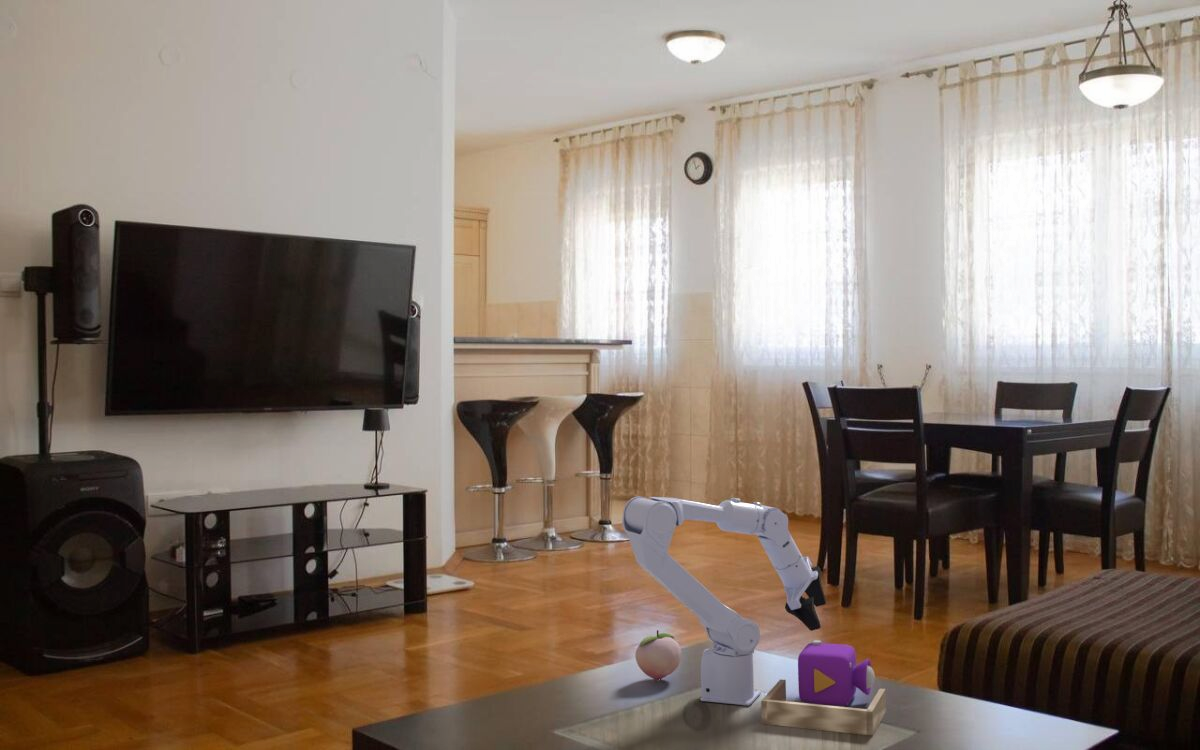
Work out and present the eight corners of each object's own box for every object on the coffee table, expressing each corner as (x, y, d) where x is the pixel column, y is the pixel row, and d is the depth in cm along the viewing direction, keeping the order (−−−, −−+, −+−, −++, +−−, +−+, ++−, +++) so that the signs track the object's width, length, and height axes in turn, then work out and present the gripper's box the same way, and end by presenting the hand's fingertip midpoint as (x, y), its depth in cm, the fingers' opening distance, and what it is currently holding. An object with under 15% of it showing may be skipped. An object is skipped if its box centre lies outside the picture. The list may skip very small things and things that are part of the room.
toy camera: (876, 710, 198) (875, 654, 198) (798, 708, 201) (796, 653, 201) (874, 691, 209) (872, 638, 208) (800, 689, 211) (798, 637, 211)
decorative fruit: (663, 690, 213) (661, 638, 213) (629, 683, 219) (627, 632, 218) (691, 678, 221) (689, 628, 221) (657, 671, 226) (656, 622, 226)
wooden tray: (761, 723, 193) (761, 700, 193) (780, 701, 205) (780, 679, 205) (872, 735, 185) (872, 711, 185) (886, 711, 197) (885, 688, 197)
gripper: (800, 576, 204) (832, 634, 208) (812, 533, 217) (842, 589, 220) (766, 586, 208) (798, 643, 211) (779, 543, 220) (809, 598, 223)
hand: (818, 616), depth 216 cm, fingers open, 7 cm apart
